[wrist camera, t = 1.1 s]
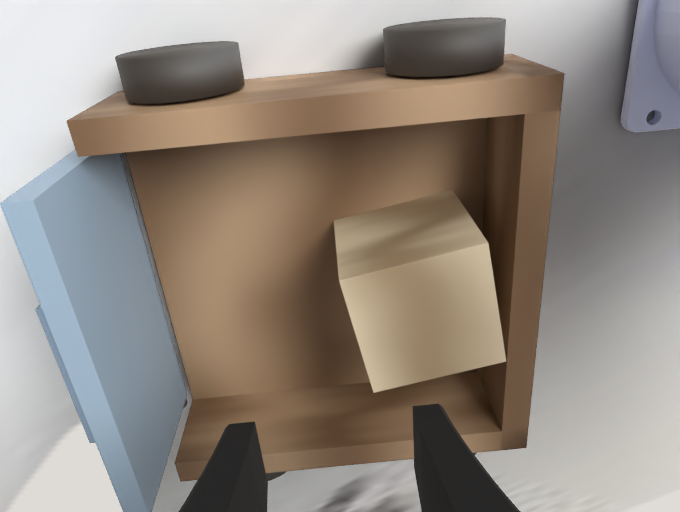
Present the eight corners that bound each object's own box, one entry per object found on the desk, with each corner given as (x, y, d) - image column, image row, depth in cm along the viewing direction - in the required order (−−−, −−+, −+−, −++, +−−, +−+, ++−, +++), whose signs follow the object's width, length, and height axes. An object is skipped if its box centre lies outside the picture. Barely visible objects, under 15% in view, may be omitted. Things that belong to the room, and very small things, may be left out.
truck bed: (514, 12, 18) (569, 20, 14) (491, 397, 25) (523, 471, 22) (107, 51, 18) (50, 70, 14) (206, 425, 25) (187, 504, 21)
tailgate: (114, 118, 18) (25, 180, 13) (191, 396, 24) (153, 526, 18) (79, 121, 18) (-25, 185, 13) (164, 399, 24) (118, 529, 18)
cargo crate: (452, 189, 20) (488, 242, 16) (470, 291, 22) (506, 361, 18) (333, 220, 20) (338, 280, 16) (362, 318, 22) (373, 392, 18)
